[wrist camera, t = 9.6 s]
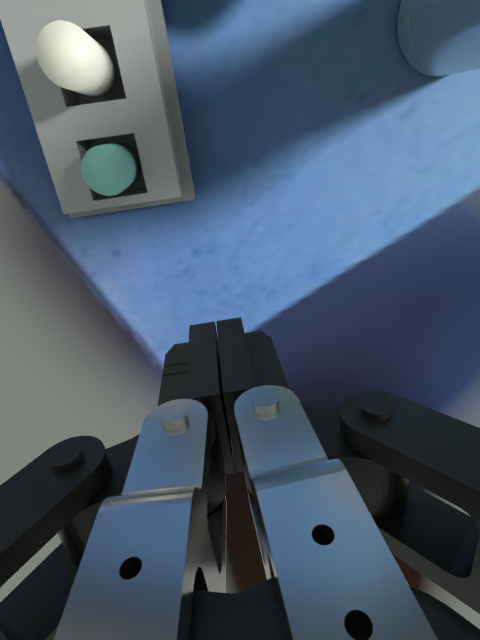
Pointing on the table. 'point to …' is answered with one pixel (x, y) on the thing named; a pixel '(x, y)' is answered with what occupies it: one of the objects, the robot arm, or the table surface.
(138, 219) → the table surface
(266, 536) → the robot arm
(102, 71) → the cream egg
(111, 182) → the button teal
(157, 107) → the grey rectangular block
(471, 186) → the table surface
